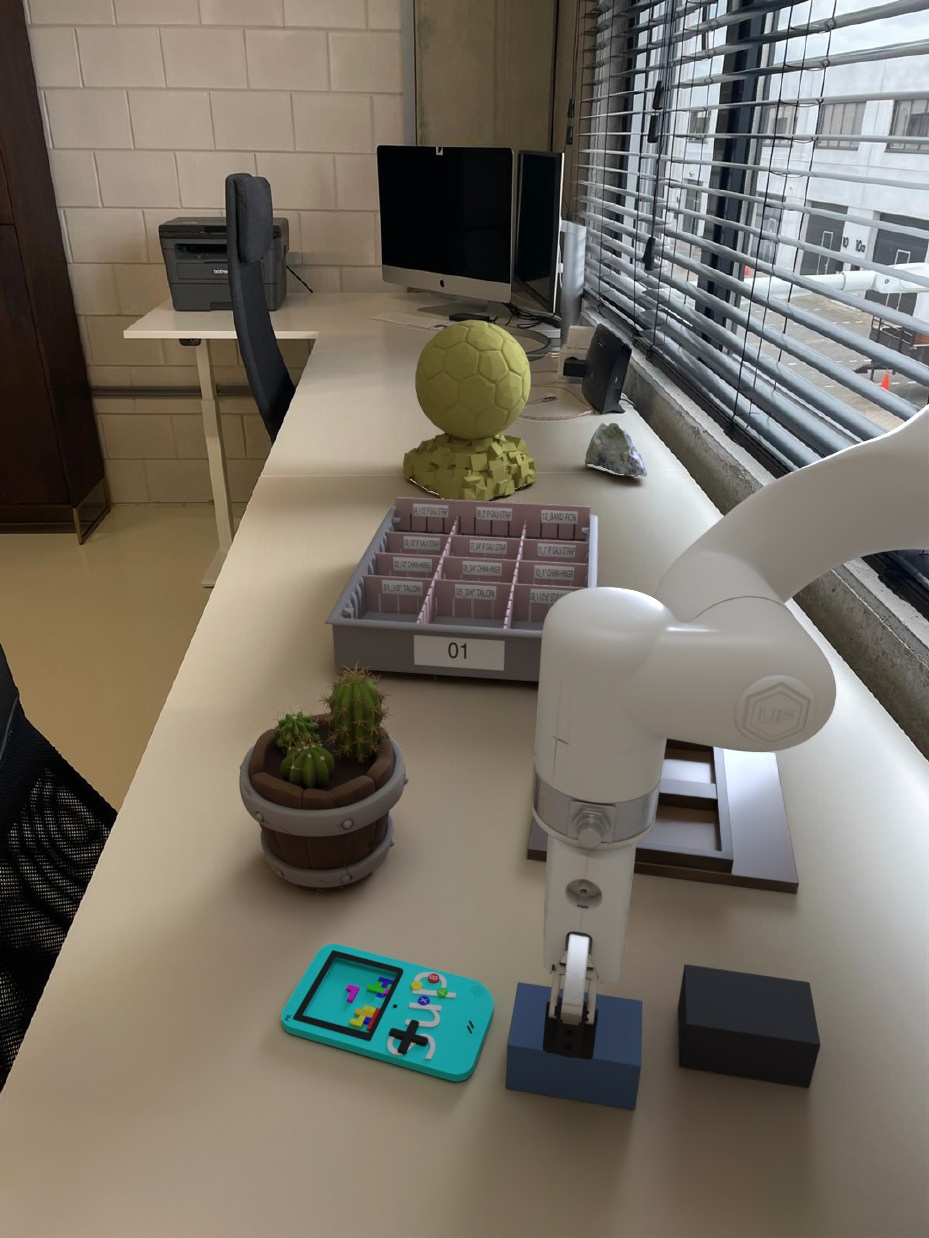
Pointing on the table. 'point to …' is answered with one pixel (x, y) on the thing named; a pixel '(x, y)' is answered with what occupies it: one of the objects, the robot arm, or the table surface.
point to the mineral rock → (614, 451)
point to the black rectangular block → (747, 1026)
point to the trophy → (471, 413)
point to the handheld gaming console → (391, 1011)
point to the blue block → (574, 1078)
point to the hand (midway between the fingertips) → (573, 991)
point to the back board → (713, 821)
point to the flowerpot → (327, 788)
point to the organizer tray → (462, 587)
